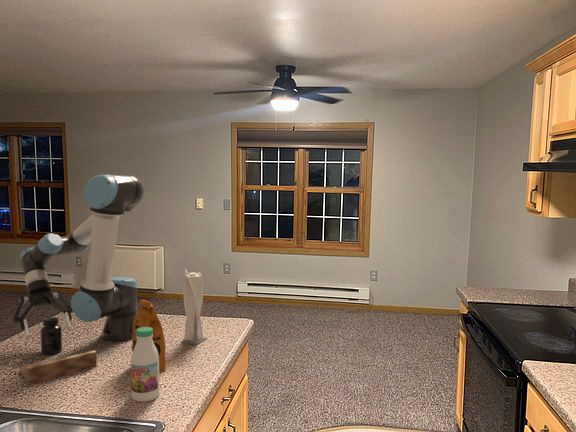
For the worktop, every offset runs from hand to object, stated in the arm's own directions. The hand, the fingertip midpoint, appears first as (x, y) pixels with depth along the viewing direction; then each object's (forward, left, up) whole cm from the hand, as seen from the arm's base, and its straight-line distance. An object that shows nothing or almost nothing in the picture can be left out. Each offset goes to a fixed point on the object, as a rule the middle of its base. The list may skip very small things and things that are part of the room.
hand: (49, 333), depth 160 cm
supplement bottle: (-1, 0, -7) cm, 7 cm away
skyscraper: (-51, -3, -7) cm, 51 cm away
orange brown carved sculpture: (-37, +20, -7) cm, 43 cm away
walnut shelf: (-8, +16, -7) cm, 19 cm away
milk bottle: (-38, +40, -7) cm, 56 cm away
